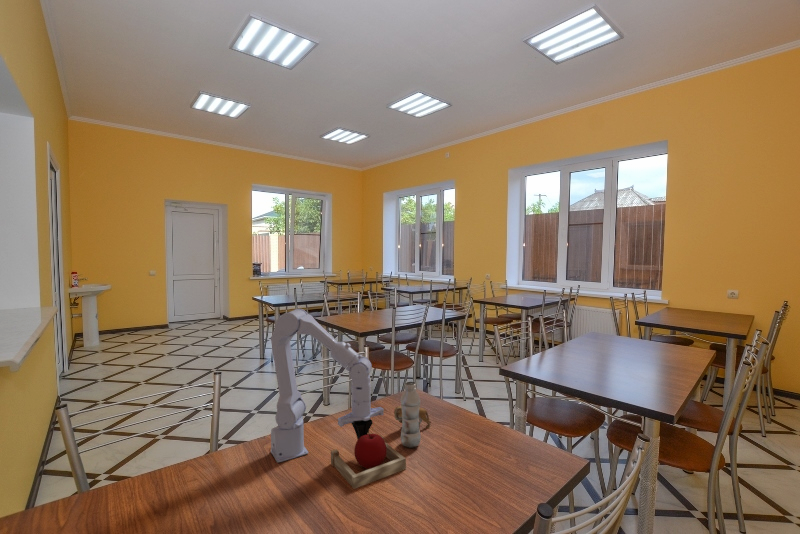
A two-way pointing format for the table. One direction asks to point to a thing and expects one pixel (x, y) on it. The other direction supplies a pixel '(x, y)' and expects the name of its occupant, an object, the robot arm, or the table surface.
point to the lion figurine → (422, 415)
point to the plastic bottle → (410, 416)
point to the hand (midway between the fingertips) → (361, 443)
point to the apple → (370, 450)
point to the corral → (371, 474)
